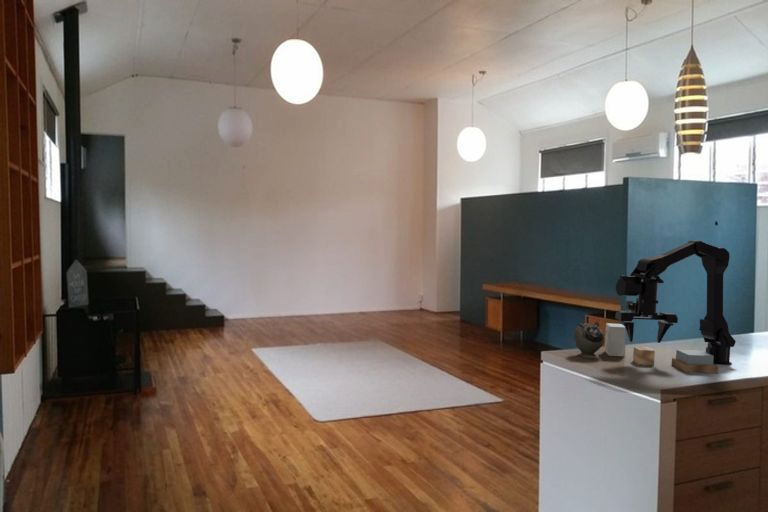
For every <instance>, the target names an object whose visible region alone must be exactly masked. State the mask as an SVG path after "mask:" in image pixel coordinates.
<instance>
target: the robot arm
mask: <svg viewBox="0 0 768 512" xmlns="http://www.w3.org/2000/svg"><path fill="white" fill-rule="evenodd" d="M693 255H695V256H696V257H698V258H700V259H701V263H702V267H703V269H704V271H705V272H706V313H705V316H704V317H703V318H700V319H699V329H698V330H699V331H700V334H701V336H702V337H703V341H704V342H705V343H707V346H706V347H705V352H706V353H708V354H710V355H713V356H714V358H713V364H715V365H717V364H719V365H733V363H732V361H730V358H731V357H730V356H731V348H734V347H735V346H736V343H737V342H736V339H734V337H733V336H732V334H730V330H729V324H728V322H727V320H726V318H725V316H724V275H725V274H724V273H725V272H726V270H727V268H728V266H729V264H730V258H731V257H730V256H731V255H730V251H729V250H727V249H726V247H725V248H724V247H717V246H714V245H711V244H708V243H706V242H703V241H701V240H698V239H697V240H695V239H694V240H693V239H692V240H688V241H687V242H686V243H683V244H680V245H679V246H676V247H675V248H673V249H670V250H668V251H666V252H664V253H662V254H659V255H654V256H647V257H643V258H641V259H640V260H638V261H637V264H636V266H635V268H634V269H633V270H632V272H631V273H630V274H629V275H621V274H620V276H619V279H618V280H617V282H616V284H615V292H616V294H617V295H618V296H619V297H636V300H635V302H634V301H633V300H626V301H625V310H617V311H616V312H615V317H614V319H616V320H618V321H619V322H620V323H621V324H622V325H623V326H625V328H626V334H627V337H628V340H629V342H631V343H632V342H633V341H634V328H635V322H633V320H651V321H652V320H653V321H657V325H658V328H657V329H658V330H657V337H656V338H657V340H656V341H657V343H658V344H660V343H661V342H662V340H663V338H664V336H665V335H666V333H667V332H668V330H669V329H670V327H672V326H674V324H678V322H679V318H678V315H677V314H675V313H673V312H667V311H660V312H659V313H658V312H657V304H659V300H658V285H659V284H664V283H665V281H664V280H663V279H662V278H661V277H660V275H661V274H663V273H664V272H666V270H667V269H668V267H670V266H672V265H674V264H676V263H678V262H681V261H683V260H685V259H687V258H689V257H691V256H693Z"/></svg>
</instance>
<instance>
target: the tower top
mask: <svg viewBox="0 0 768 512" xmlns="http://www.w3.org/2000/svg"><path fill="white" fill-rule="evenodd" d="M675 354H676V355H675V358H676V359H678V360H680V361H682V362H684V363H686V364H694V365H713V364H714V363H713V358H714V356H713V355H710V354H708V353H706V351H703V350H701V349H700V350H698V349H697V350H695V349H676V353H675Z"/></svg>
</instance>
